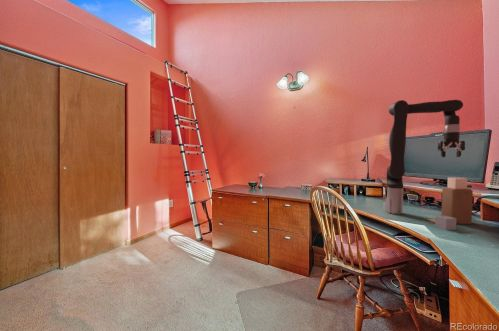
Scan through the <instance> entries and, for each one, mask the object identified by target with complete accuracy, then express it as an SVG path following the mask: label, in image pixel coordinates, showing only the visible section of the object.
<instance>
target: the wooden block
mask: <svg viewBox="0 0 499 331" xmlns="http://www.w3.org/2000/svg"><path fill="white" fill-rule="evenodd" d="M441 191H442V192H441V216H443V215H446V216H449V217H453V218H456V225H457V224H458V225H471V224H472V221H473V220H472V219H473V197H474V196H473V194H474V193H473V192H474V191H473V190H472V189H469V188H467V189H453V188H448V187H447V186H444V187H442V190H441Z"/></svg>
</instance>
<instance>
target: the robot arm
mask: <svg viewBox="0 0 499 331" xmlns="http://www.w3.org/2000/svg"><path fill="white" fill-rule="evenodd" d="M463 107H464V102H462V100H460V99H449V100H442V101H425V102H420V103H411V104H409V103H408V102H407V101H406V100H403V99H402V100H401V99H400V100H398V101H395V102H394V103H392V104H391V105H390V106H389V107H388V114H390V115H391V116H392V117H393V124H392V127H391V130H390V131H389V132H390V133H389V136H388V138H389V139H388V140H389V141H388V144H389V146H388V148H389V152H390V164H389V165H388V167H387V168H386V185H387V186H386V197H385V210H384V211H385V212H386V213H388V214H394V215H402V214H403V213H404V182H403V177H404V174H405V173H406V171H405V170H406V169H405V168H406V167H405V153H406V142H407V122H408V120H407V119H408V115H411V114H432V113H433V114H434V113H435V114H436V113H441V112H442V113H443V117H444V129H443V140H439V141H437V142H438V143H437V151H440V156H441V158H446V151H447V149H448V148H449V149H450V148H452V149H453V148H454V150H456V152H455V154H456V155H455V156H456V158H460V157H461V156H462V151H465V149H466V141H465V140H460V138H461V137H460V133H461V132H460V131H461V128H460V119H461V118H460V116H459V115H457V113H456V112H457V111H460V110H461V109H462V108H463Z"/></svg>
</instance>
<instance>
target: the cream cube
mask: <svg viewBox="0 0 499 331" xmlns="http://www.w3.org/2000/svg"><path fill="white" fill-rule="evenodd" d="M446 187H448V188H453V189H468V178H465V177H447V185H446Z"/></svg>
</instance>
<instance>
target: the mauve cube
mask: <svg viewBox="0 0 499 331" xmlns="http://www.w3.org/2000/svg"><path fill="white" fill-rule="evenodd" d="M434 219H435V223H434V227H436V228H439V229H441V230H444V231H449V230H450V231H451V230H452V231H453V230H457V224H456V218H453V217H449V216H446V215H443V216H442V215H435V218H434Z"/></svg>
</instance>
